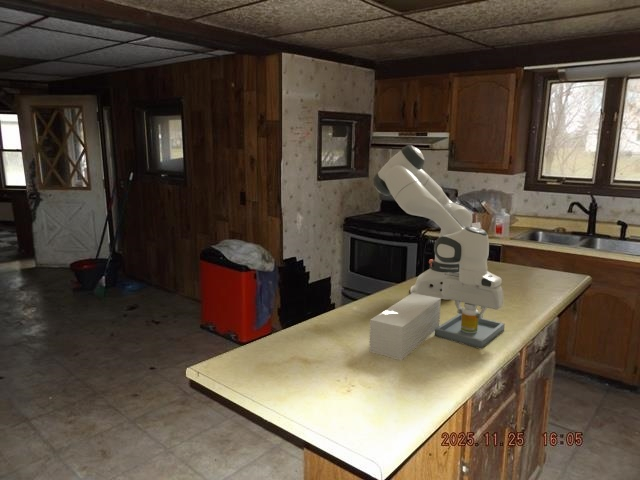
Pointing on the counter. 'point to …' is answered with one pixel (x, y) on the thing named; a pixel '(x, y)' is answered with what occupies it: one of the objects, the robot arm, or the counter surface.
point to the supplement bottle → (469, 318)
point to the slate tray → (479, 339)
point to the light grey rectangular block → (404, 325)
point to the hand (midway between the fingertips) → (470, 315)
